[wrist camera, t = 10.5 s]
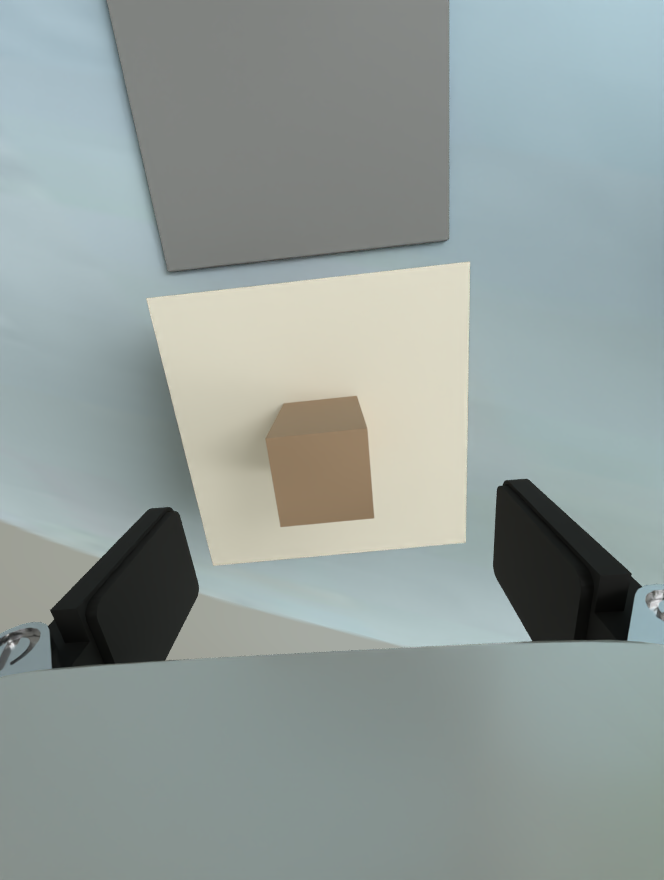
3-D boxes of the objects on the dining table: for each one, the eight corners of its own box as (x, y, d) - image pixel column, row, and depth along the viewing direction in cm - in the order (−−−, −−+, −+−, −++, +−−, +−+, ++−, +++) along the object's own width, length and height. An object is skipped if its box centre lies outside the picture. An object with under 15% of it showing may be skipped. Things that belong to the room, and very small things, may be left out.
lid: (464, 263, 19) (535, 236, 12) (461, 535, 24) (510, 617, 17) (153, 298, 19) (63, 291, 13) (216, 557, 24) (176, 646, 18)
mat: (445, -175, 18) (449, -189, 17) (446, 240, 24) (448, 239, 23) (82, -122, 18) (76, -134, 18) (170, 271, 24) (167, 271, 24)
